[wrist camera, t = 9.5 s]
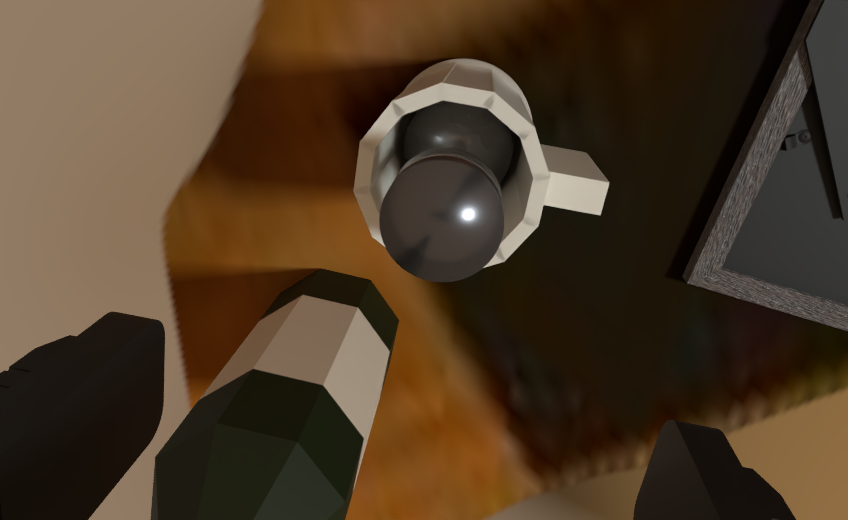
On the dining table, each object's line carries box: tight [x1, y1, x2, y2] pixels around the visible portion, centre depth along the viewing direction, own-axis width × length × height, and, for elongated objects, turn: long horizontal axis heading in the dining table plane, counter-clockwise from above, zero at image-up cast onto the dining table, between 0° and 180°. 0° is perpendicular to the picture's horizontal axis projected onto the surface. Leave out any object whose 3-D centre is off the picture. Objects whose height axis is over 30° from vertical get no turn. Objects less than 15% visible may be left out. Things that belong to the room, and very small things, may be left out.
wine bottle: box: [151, 269, 399, 520], centre depth 28 cm, size 8×8×30 cm
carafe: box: [353, 58, 609, 268], centre depth 31 cm, size 10×8×13 cm
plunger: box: [379, 100, 512, 282], centre depth 26 cm, size 5×5×13 cm
